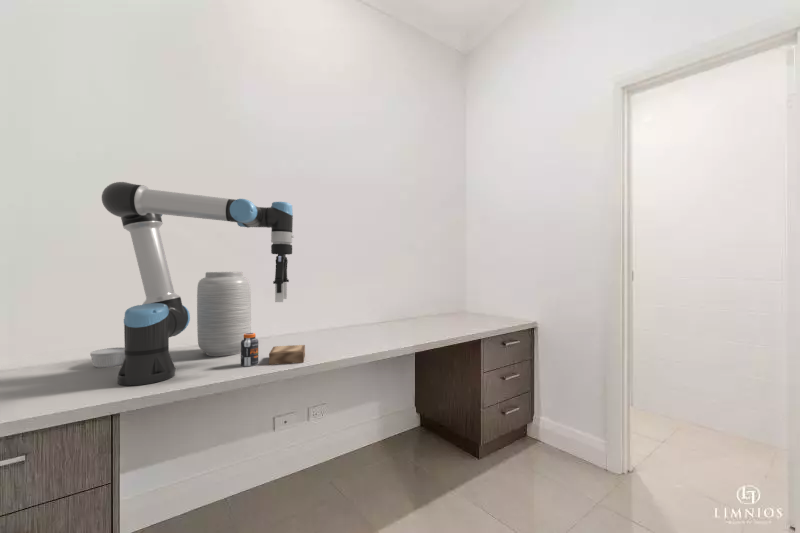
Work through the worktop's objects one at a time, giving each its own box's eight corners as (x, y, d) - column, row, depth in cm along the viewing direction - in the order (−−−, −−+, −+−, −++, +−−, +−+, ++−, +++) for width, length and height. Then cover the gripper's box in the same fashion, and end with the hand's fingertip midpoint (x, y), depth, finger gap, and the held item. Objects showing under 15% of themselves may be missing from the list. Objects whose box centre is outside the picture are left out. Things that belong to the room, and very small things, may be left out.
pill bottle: (252, 367, 130) (251, 335, 130) (237, 366, 131) (237, 334, 131) (261, 362, 135) (261, 332, 135) (247, 362, 137) (247, 331, 137)
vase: (246, 345, 167) (245, 271, 167) (255, 353, 150) (255, 271, 150) (195, 351, 156) (194, 272, 156) (199, 361, 139) (198, 272, 139)
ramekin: (134, 359, 142) (133, 346, 142) (122, 367, 132) (121, 352, 132) (99, 362, 139) (99, 348, 139) (84, 370, 128) (84, 355, 128)
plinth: (269, 364, 132) (269, 352, 132) (273, 356, 144) (273, 345, 144) (303, 362, 135) (303, 351, 135) (305, 354, 147) (304, 344, 147)
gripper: (289, 241, 126) (288, 303, 126) (294, 245, 150) (294, 297, 150) (266, 241, 124) (265, 303, 124) (275, 245, 149) (274, 297, 149)
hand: (281, 300), depth 137 cm, fingers open, 13 cm apart
